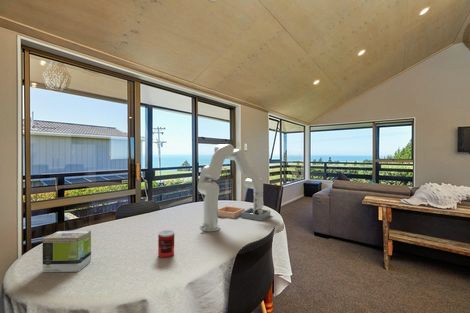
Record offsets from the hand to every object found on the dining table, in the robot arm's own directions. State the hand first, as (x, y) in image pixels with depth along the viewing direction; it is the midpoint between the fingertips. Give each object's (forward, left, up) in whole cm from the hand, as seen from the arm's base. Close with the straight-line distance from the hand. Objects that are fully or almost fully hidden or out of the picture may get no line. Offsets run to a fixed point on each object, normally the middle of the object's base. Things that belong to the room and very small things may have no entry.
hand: (258, 216), depth 184 cm
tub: (-5, +23, -1) cm, 24 cm away
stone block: (0, 0, 0) cm, 0 cm away
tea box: (-116, +41, -1) cm, 123 cm away
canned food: (-85, +13, -1) cm, 86 cm away
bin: (0, +2, -1) cm, 2 cm away
